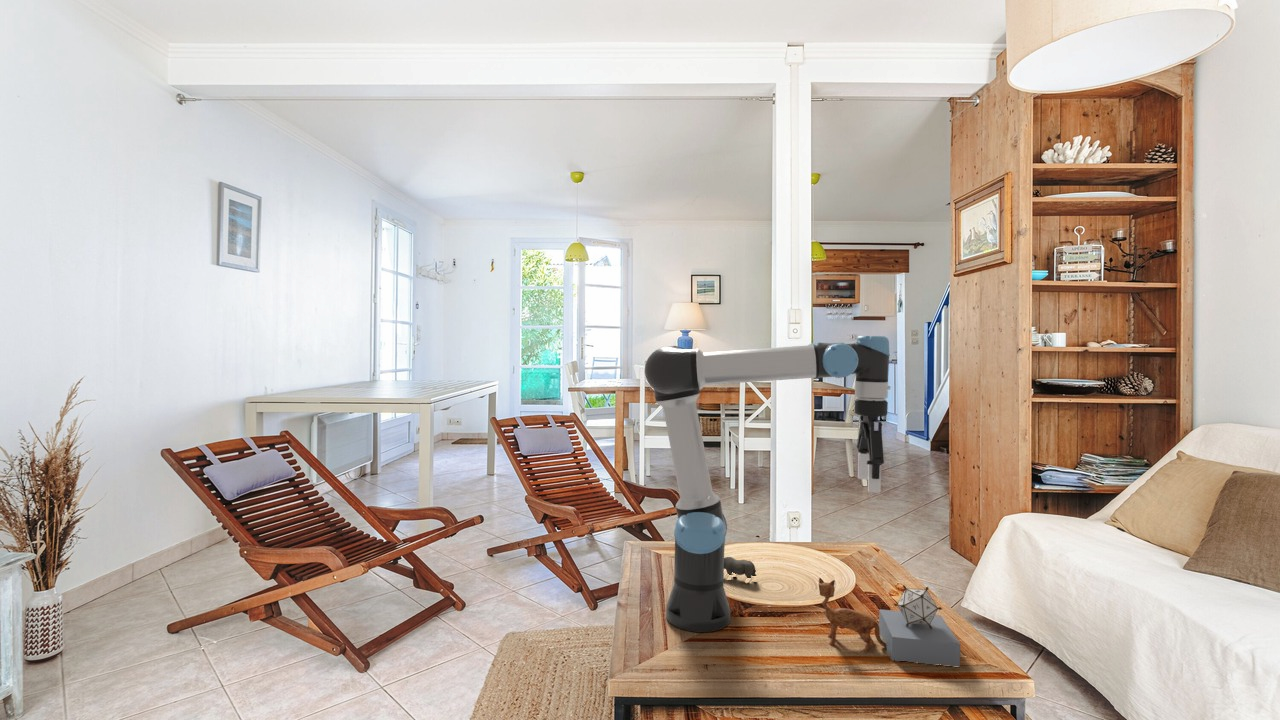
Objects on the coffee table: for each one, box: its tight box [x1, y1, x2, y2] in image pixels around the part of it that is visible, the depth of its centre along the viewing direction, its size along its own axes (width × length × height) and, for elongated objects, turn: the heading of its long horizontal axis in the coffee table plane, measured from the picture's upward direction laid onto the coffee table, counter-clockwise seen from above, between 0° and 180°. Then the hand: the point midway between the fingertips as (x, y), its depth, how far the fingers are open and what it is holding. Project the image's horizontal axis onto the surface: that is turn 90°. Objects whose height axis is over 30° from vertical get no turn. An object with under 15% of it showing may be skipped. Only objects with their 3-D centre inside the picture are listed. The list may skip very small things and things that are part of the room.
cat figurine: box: [818, 577, 886, 652], centre depth 130 cm, size 18×7×14 cm, turn 77°
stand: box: [878, 608, 961, 667], centre depth 129 cm, size 13×13×5 cm
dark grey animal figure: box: [724, 556, 757, 579], centre depth 165 cm, size 4×14×6 cm, turn 64°
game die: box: [893, 584, 943, 629], centre depth 129 cm, size 9×8×10 cm
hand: (868, 485), depth 147 cm, fingers open, 13 cm apart
